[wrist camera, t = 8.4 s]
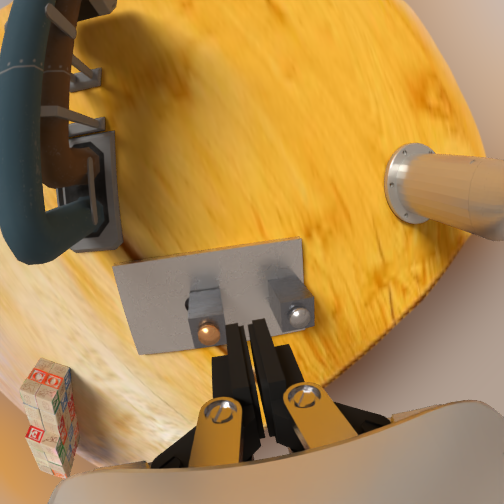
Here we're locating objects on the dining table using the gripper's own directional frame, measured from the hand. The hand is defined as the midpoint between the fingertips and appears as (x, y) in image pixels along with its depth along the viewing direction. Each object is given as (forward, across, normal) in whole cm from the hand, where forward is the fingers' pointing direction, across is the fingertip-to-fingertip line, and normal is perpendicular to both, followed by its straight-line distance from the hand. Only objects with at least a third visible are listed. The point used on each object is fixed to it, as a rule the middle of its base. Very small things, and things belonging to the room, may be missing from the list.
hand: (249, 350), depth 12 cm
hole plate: (+27, +3, +10) cm, 29 cm away
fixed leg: (+26, -6, +10) cm, 29 cm away
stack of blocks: (+26, +37, +28) cm, 53 cm away
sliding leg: (+26, +4, +10) cm, 28 cm away
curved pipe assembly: (+27, +16, -17) cm, 36 cm away
